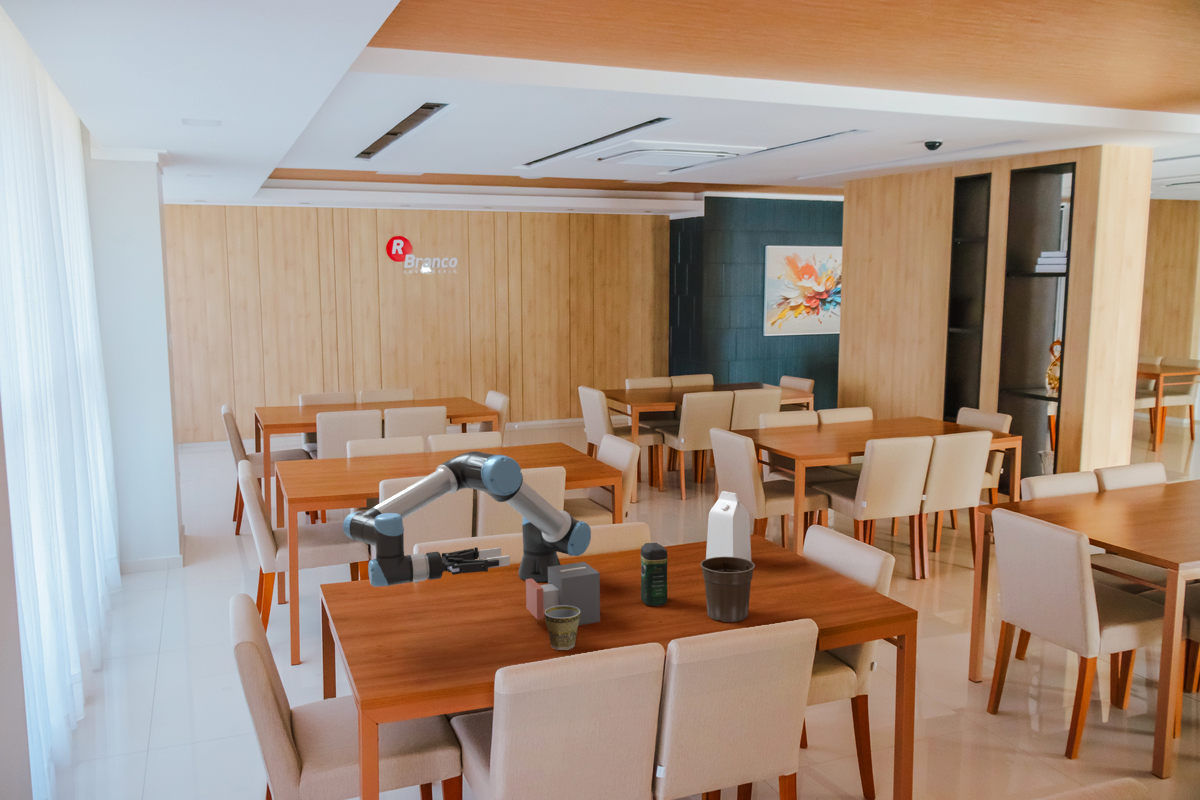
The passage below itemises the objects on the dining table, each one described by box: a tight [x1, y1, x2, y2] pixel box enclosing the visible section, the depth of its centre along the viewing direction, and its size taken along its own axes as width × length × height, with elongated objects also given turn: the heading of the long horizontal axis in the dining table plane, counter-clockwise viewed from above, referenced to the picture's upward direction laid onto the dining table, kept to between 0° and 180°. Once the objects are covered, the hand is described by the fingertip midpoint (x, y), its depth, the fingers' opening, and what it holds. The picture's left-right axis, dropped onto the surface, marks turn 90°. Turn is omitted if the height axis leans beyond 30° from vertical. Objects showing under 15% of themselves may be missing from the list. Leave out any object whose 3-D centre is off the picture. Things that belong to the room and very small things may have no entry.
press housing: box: [547, 561, 601, 626], centre depth 255 cm, size 12×12×15 cm
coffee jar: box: [640, 542, 669, 607], centre depth 268 cm, size 10×8×19 cm
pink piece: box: [525, 578, 559, 620], centre depth 253 cm, size 14×10×9 cm
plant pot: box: [700, 557, 756, 623], centre depth 256 cm, size 16×16×16 cm
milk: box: [705, 490, 752, 562], centre depth 307 cm, size 12×12×26 cm
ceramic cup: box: [544, 605, 580, 651], centre depth 236 cm, size 13×10×10 cm
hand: (504, 556), depth 245 cm, fingers open, 8 cm apart
